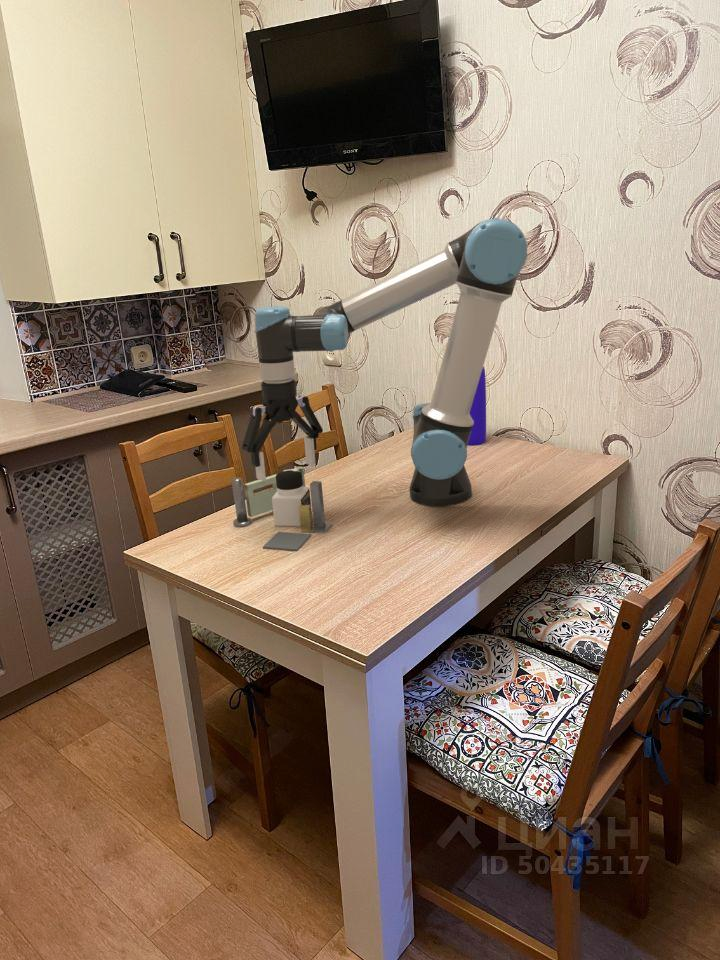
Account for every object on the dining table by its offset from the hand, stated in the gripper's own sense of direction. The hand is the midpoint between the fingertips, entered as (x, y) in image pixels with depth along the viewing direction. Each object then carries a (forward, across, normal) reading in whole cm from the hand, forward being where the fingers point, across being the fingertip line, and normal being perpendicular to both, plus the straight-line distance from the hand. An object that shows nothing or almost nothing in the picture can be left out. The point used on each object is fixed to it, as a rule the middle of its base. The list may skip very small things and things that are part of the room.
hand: (286, 471), depth 161 cm
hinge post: (+12, +9, -8) cm, 17 cm away
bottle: (+12, -72, -8) cm, 73 cm away
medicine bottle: (+12, 0, 0) cm, 12 cm away
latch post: (+12, -2, +9) cm, 15 cm away
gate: (+11, -1, -8) cm, 13 cm away
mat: (+12, +8, +10) cm, 17 cm away
